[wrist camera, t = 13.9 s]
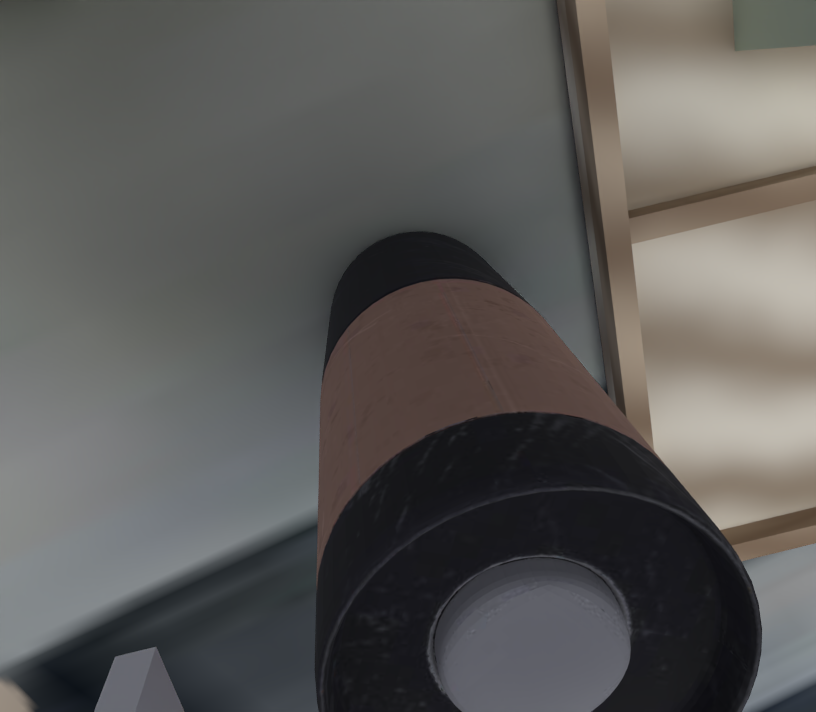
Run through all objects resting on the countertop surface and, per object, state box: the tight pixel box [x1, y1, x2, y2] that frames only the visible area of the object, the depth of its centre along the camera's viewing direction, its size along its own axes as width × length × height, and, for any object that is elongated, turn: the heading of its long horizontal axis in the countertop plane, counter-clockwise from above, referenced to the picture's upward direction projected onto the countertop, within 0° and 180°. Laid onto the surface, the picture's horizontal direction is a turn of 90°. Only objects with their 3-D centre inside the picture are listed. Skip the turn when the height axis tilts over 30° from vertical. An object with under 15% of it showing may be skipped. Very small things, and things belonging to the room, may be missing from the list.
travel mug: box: [315, 232, 762, 712], centre depth 21 cm, size 8×8×20 cm
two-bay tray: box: [556, 0, 816, 561], centre depth 29 cm, size 33×17×2 cm, turn 12°
